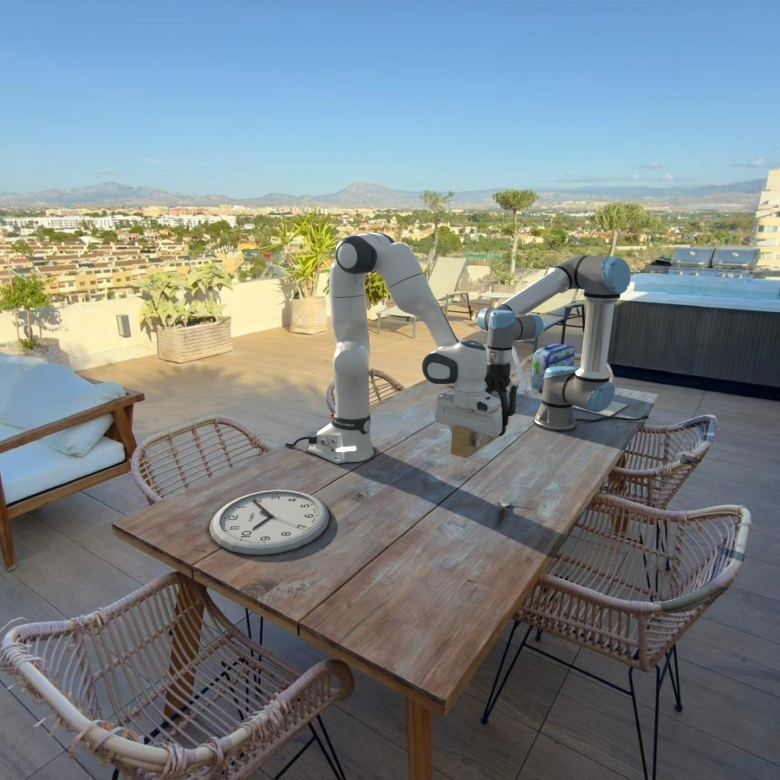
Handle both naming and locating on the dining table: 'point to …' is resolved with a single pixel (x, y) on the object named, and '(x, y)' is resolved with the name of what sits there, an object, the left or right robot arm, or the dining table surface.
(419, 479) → the dining table surface
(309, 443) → the left robot arm
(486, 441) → the bar
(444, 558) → the dining table surface
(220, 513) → the wall clock
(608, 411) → the invitation card
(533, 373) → the lunch box
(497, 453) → the dining table surface
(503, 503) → the fork
